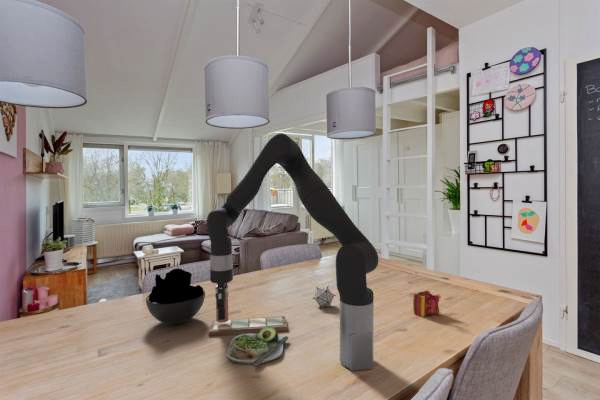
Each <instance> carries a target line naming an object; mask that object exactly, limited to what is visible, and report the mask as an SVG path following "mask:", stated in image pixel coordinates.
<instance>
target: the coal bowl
mask: <svg viewBox="0 0 600 400" xmlns="http://www.w3.org/2000/svg"><path fill="white" fill-rule="evenodd" d="M191 279H192V273H191V271H190V272H189V271H187V270H184V269H182V268H173V269H171V270H170V271H168V272H166V273H165V277H164V278H162V277H161V275H160V274H155V278H154V280H155V285H153V286H152V288H151V291H150V293H149V295H147V296H146V298H145V303H146V307H147V310H148V311H149V313H150V315H151V316H152V317H153V318H155V319H156V320H157V321H159V322H160V323H163V324H166V325H179V324H183V323H185V322H187V321H189V320H191V319H192V318H194V317H196V315H197V314H198V313H199V311H200V310H201V308H202V307H203V304H204V302H205V297H206V292H205V290H204V288H203V287H202V286H201V285H199V284H197V285H195V286H194V285H191V284H192V283H191V282H192V280H191Z"/></svg>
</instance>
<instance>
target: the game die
mask: <svg viewBox="0 0 600 400" xmlns="http://www.w3.org/2000/svg"><path fill="white" fill-rule="evenodd" d="M316 289H317V290H316V292H315V295H314V297H312V298H311V299H312V300H315V302H316V303H317V305H319V307H318V308H319V309H321V307H331V308H332V305H331V304H332V302H333V299H334V297H336V295H337V294H334V293H332V291H331V290H330V289H329V285H327V287H320V288H319V287H318V286H316Z"/></svg>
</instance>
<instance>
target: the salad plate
mask: <svg viewBox="0 0 600 400" xmlns="http://www.w3.org/2000/svg"><path fill="white" fill-rule="evenodd" d="M288 340H289V337H288V336H286V335H285V336H282V335H280V334H279V333H278V332H277V331H276V329H275V328H272V327H265V328H263V329H261V330H259V333H248V334H237V335H235V336H234V337H233V338H232V339H231V340H230V343H229V345H228V348H227V350H226V357H227V358H228V359H229V360H230V361H232V362H235V363H237V364H240V363H241V365H248V364H249V365H253V366H255V367H256V366H257V367H258V366H259V365H261V363H262V364H264V363H267V362H270V361H273V360H275V359H278V358H280V357H281V355H282V354H283V351H284V345H285V343H286V342H287V341H288ZM237 350H238V351H240V352H244V353H246V355H247V357H245V358H241V357H239V356H238V355H237V354H236V353H237V352H236V351H237ZM237 356H238V357H237Z"/></svg>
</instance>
